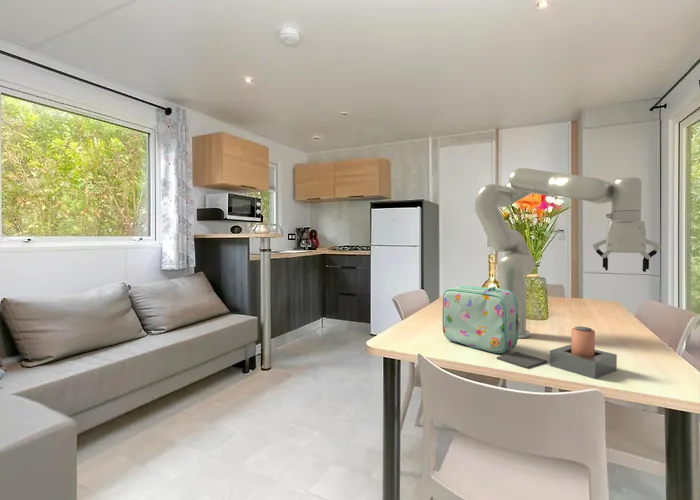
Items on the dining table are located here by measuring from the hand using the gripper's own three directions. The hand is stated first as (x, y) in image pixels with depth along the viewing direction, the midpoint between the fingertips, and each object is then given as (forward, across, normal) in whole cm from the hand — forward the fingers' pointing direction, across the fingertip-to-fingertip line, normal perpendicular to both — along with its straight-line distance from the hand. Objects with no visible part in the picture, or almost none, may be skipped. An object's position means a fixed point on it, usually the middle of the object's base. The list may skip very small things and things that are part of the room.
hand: (624, 270), depth 116 cm
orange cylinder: (+27, -10, -22) cm, 36 cm away
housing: (+27, -10, -22) cm, 36 cm away
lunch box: (+27, -40, -17) cm, 51 cm away
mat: (+27, -25, -26) cm, 45 cm away
